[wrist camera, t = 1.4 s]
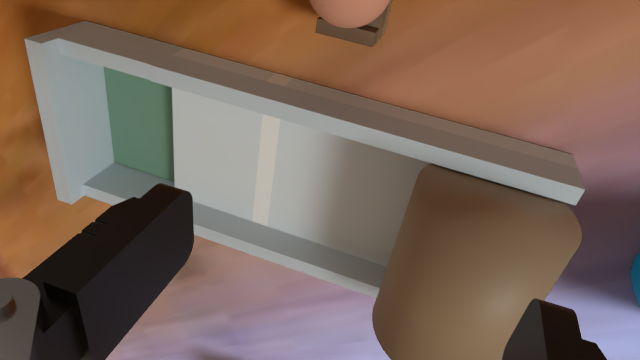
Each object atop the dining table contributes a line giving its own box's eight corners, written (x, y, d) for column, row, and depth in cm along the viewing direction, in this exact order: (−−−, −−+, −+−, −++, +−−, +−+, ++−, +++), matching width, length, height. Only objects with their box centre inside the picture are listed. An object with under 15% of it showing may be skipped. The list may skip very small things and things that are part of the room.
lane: (85, 20, 31) (-51, 60, 23) (573, 154, 26) (611, 266, 18) (104, 167, 38) (3, 237, 30) (494, 297, 32) (497, 424, 24)
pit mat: (102, 40, 31) (100, 41, 31) (184, 63, 30) (182, 64, 30) (116, 160, 37) (114, 162, 37) (185, 184, 36) (184, 185, 36)
